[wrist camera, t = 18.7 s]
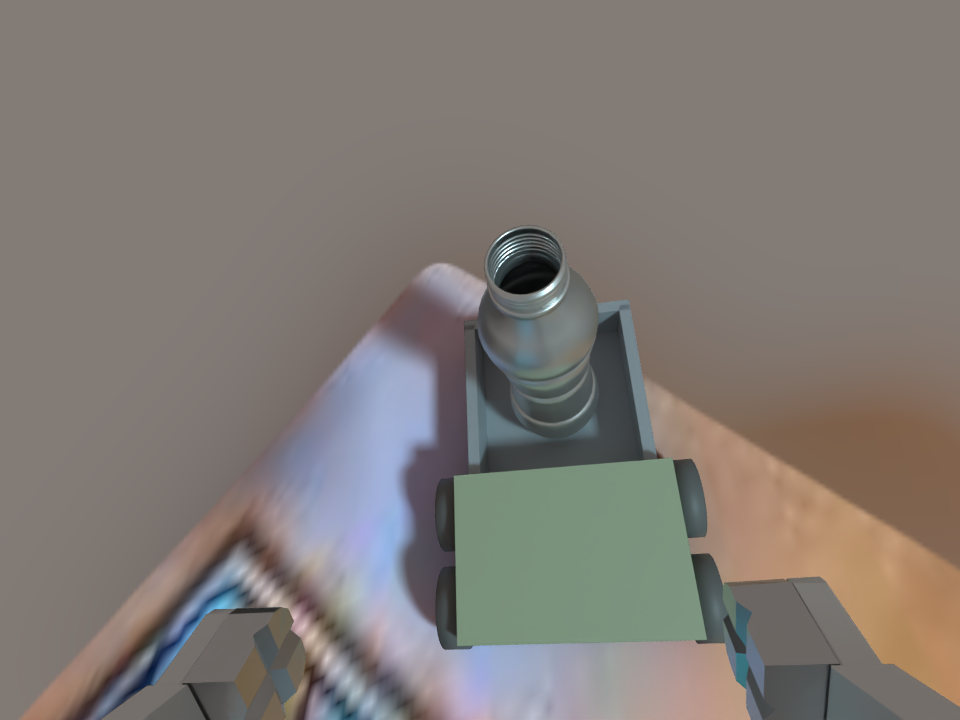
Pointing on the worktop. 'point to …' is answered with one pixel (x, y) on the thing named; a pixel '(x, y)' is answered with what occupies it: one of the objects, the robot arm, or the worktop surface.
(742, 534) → the worktop surface
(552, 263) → the silver metal bottle
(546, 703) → the worktop surface
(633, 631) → the toy pickup truck
